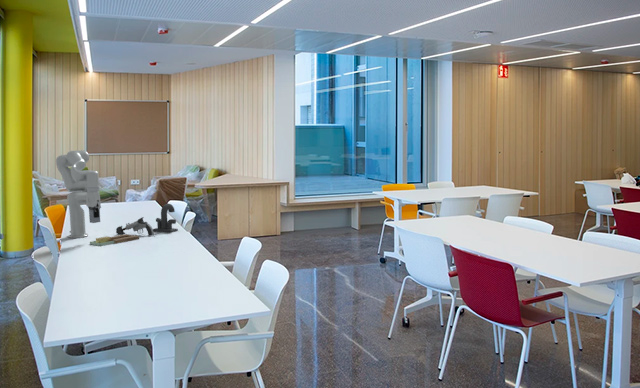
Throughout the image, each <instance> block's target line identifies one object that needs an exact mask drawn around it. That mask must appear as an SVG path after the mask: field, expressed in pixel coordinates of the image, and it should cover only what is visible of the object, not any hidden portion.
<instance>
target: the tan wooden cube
mask: <svg viewBox="0 0 640 388" xmlns="http://www.w3.org/2000/svg"><path fill="white" fill-rule="evenodd" d="M102 237H103V236H102ZM102 237H101V236H100V237H96V238H95V241H96V243H104V242H105V238H102Z"/></svg>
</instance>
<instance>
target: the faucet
mask: <svg viewBox="0 0 640 388" xmlns="http://www.w3.org/2000/svg"><path fill="white" fill-rule="evenodd" d="M175 212H176V211H175V207H174V206H173V204H171V203H165V204H164V205H163V206H162V207H161V210H160V218H159V217H156V218H155V222H156V224H157V225H156V226H157V227H156V228H152V229H153V233H154V232H155V233H168V234H169V233H170V234H171V233H175V232H179V229H178V228H174V227H173V225H176V223H177V220H176V219H175V218H173V219H172V218H171V219H168V213H175Z"/></svg>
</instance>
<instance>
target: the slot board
mask: <svg viewBox="0 0 640 388" xmlns="http://www.w3.org/2000/svg"><path fill="white" fill-rule="evenodd" d="M109 237H110V240H111V241H115V243H114V244H120V243H126V242H131V241H136V240H137V241H138V240H140V236H139V235H134V234H127V233H125V234H120V235H115V236H109Z"/></svg>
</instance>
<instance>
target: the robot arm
mask: <svg viewBox="0 0 640 388" xmlns="http://www.w3.org/2000/svg"><path fill="white" fill-rule="evenodd" d="M89 160H90V155H89V153H88V151H86V150H82V149H81V150H70V151H68V152H67V153H66V154H60V155H58V156H57V157H56V160H55V162H56V163H55V164H56V168H57V170H58V171H59V173H60V175H61V177H62V180H63V184H64V186H65V189H66V191H67V192H69V193H68V195H67V196H66V198H67V199H66V200H67V205H68V209H69V221H70V223H69V224H70V230H68V231H69V233H70V234H69V235H68V238H71V239H79V238H87V237H88V236H89V234H88V233H86V216H85V210H84V208H82V206H85V205H86V207H87V208H88V209H89V207H94V210H95V212H94V218H97V217H99V209H100V210H101V208H102V206H101V195H100V183H99V182H100V181H99V179H100V178H99V172H98V171H97V170H93V169H91V170H90V169H88V170H86V169H85V168H86V166H87V165H86V164H87V163H88V162H89ZM70 167H71V168H70ZM84 169H85V170H84ZM95 206H97V207H95Z"/></svg>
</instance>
